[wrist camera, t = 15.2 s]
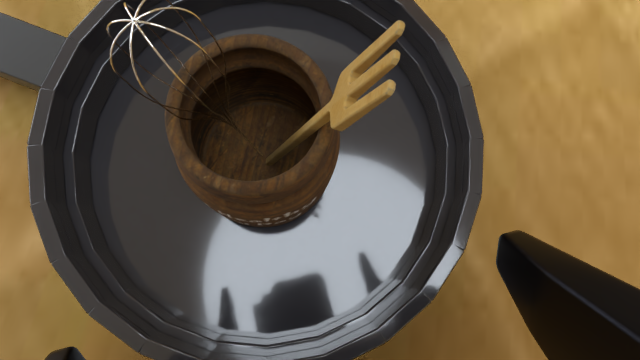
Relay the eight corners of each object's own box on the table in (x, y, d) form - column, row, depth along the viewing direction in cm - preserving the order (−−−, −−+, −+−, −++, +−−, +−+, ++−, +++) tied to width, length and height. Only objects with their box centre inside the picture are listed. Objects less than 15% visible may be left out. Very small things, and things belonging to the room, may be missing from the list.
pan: (231, 451, 18) (217, 494, 15) (-5, 131, 20) (-66, 104, 17) (526, 190, 21) (572, 176, 18) (296, -72, 23) (297, -131, 19)
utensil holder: (212, 88, 21) (104, -147, 9) (348, 114, 21) (421, -82, 9) (182, 215, 19) (12, 144, 8) (325, 242, 20) (376, 211, 8)
